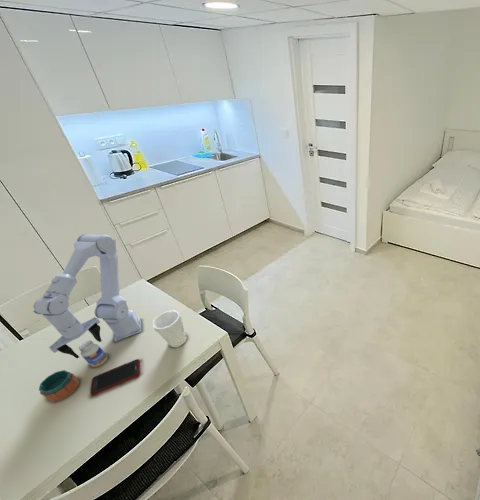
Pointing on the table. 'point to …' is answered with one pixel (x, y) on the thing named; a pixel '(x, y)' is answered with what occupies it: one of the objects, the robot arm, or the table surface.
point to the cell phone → (115, 376)
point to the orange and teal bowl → (58, 385)
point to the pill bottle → (92, 353)
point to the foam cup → (170, 328)
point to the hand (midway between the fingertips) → (88, 348)
